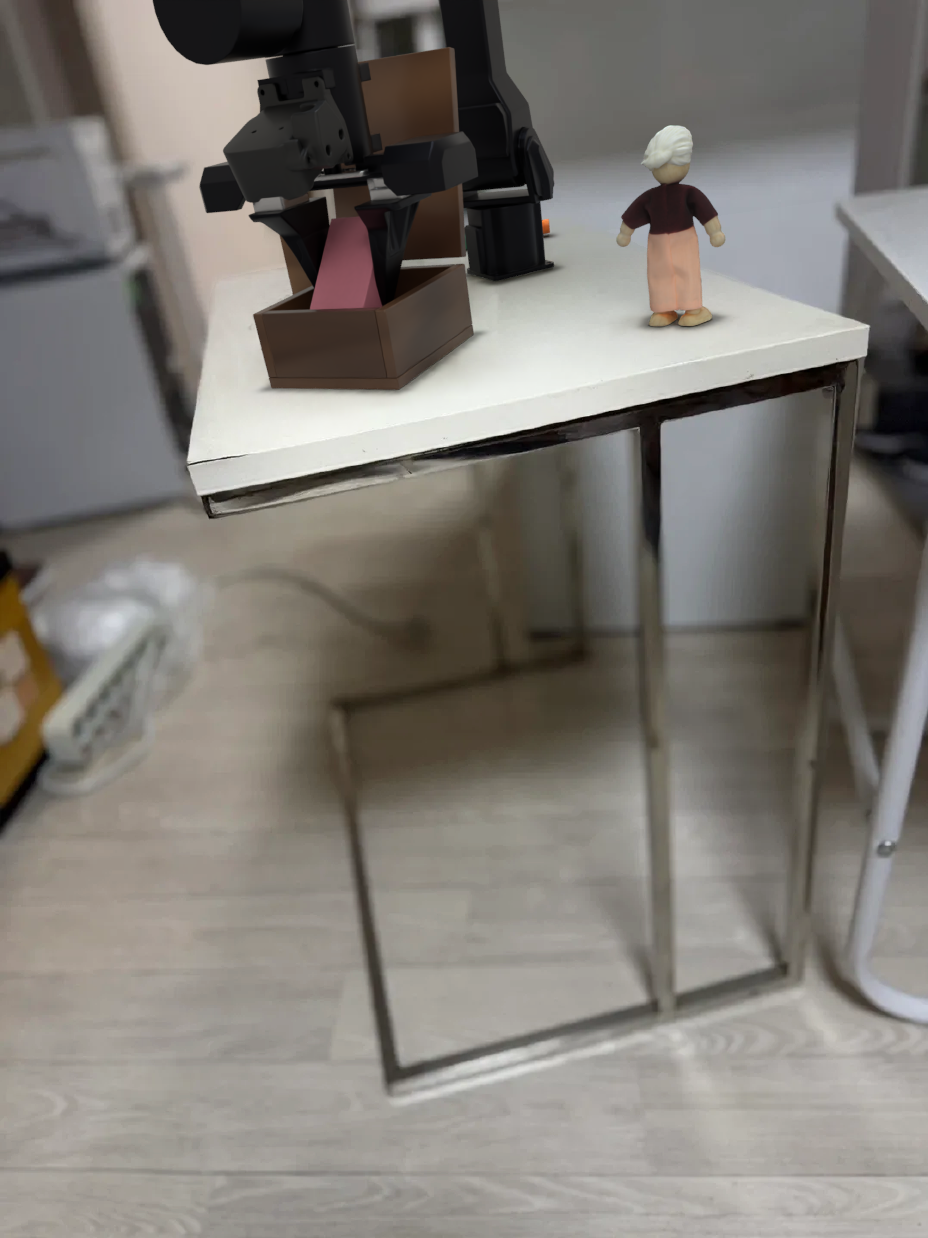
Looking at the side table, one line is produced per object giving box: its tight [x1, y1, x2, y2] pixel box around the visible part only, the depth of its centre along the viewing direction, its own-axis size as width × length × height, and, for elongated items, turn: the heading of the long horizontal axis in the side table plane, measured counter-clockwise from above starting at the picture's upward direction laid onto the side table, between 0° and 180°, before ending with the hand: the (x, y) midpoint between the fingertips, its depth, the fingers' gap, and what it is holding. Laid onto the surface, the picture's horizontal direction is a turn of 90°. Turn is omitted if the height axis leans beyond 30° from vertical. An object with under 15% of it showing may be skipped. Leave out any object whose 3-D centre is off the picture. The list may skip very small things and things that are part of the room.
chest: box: [252, 263, 475, 391], centre depth 67 cm, size 13×11×5 cm
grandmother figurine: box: [615, 125, 726, 327], centre depth 64 cm, size 8×4×13 cm, turn 71°
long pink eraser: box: [310, 216, 382, 310], centre depth 65 cm, size 8×4×2 cm
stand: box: [279, 235, 312, 295], centre depth 90 cm, size 3×3×7 cm
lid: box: [332, 47, 467, 262], centre depth 68 cm, size 13×11×1 cm
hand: (358, 306), depth 66 cm, fingers closed on long pink eraser, 4 cm apart
